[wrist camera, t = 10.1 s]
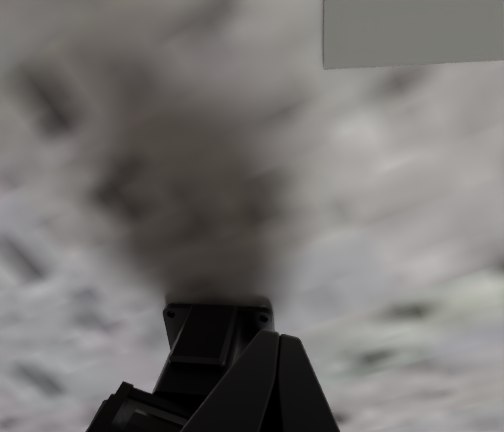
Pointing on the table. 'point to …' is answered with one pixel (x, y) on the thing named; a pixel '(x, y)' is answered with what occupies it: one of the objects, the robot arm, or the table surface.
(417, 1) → the mat
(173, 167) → the table surface
